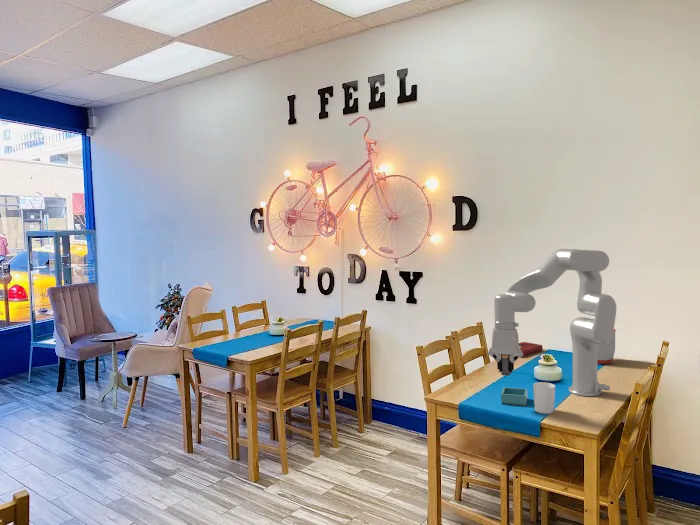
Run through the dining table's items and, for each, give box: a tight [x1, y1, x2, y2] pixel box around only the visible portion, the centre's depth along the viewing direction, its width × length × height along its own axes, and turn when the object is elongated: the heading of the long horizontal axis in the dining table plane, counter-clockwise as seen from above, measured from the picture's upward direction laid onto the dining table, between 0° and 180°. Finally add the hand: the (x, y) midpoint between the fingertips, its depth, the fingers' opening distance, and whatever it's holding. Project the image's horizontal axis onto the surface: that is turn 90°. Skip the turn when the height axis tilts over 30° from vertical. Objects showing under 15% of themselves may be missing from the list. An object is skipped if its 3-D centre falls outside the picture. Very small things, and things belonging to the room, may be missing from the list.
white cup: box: [532, 381, 556, 415], centre depth 201 cm, size 8×8×10 cm
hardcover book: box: [514, 341, 543, 359], centre depth 291 cm, size 12×21×4 cm, turn 129°
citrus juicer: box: [595, 328, 616, 365], centre depth 267 cm, size 16×17×20 cm
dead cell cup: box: [500, 386, 528, 407], centre depth 213 cm, size 9×9×4 cm
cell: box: [500, 355, 511, 377], centre depth 207 cm, size 4×4×9 cm
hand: (505, 371), depth 207 cm, fingers closed on cell, 3 cm apart
